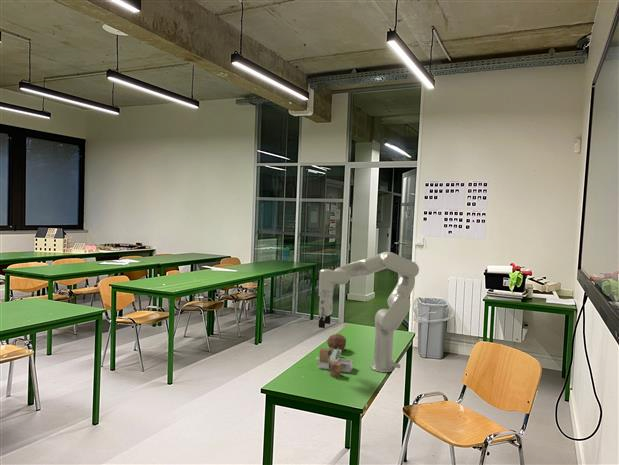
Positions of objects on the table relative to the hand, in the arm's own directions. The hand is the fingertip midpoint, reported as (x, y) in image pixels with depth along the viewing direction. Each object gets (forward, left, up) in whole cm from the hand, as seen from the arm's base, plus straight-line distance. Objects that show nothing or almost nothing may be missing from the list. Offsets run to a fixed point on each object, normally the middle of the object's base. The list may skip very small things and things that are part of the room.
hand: (324, 325), depth 228 cm
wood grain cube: (-9, +7, -23) cm, 25 cm away
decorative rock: (+1, -35, -23) cm, 41 cm away
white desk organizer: (-6, -3, -23) cm, 24 cm away
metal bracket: (0, -18, -23) cm, 30 cm away
